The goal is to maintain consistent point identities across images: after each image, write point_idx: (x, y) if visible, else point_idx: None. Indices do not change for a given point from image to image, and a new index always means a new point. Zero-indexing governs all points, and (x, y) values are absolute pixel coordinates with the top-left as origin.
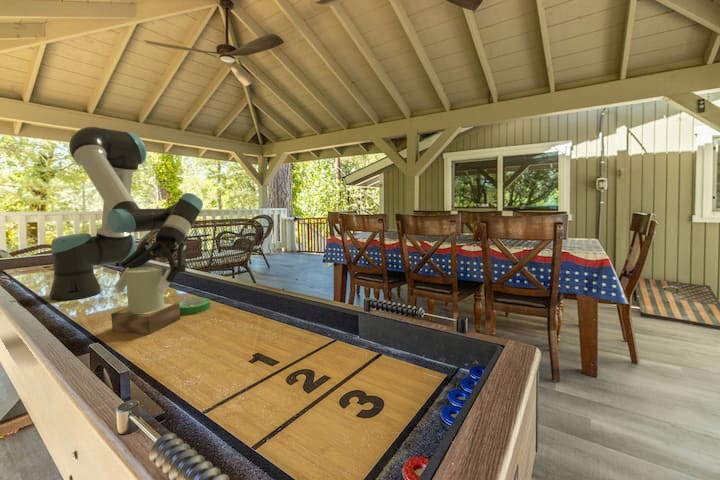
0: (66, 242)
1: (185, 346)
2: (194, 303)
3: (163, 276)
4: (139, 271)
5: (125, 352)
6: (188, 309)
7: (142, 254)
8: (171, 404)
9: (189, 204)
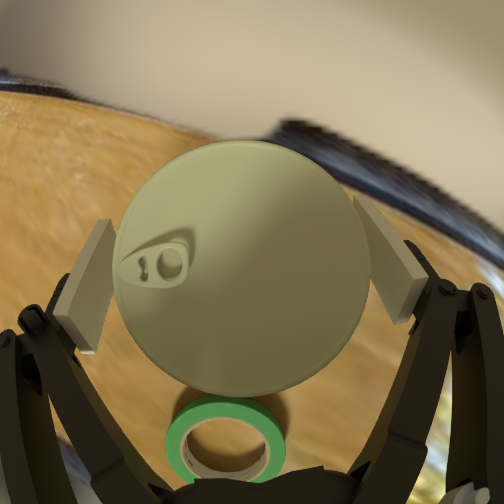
0: None
1: (45, 190)
2: (247, 471)
3: (84, 268)
4: (207, 190)
5: (142, 124)
6: (192, 405)
7: (434, 411)
8: (9, 80)
9: None
